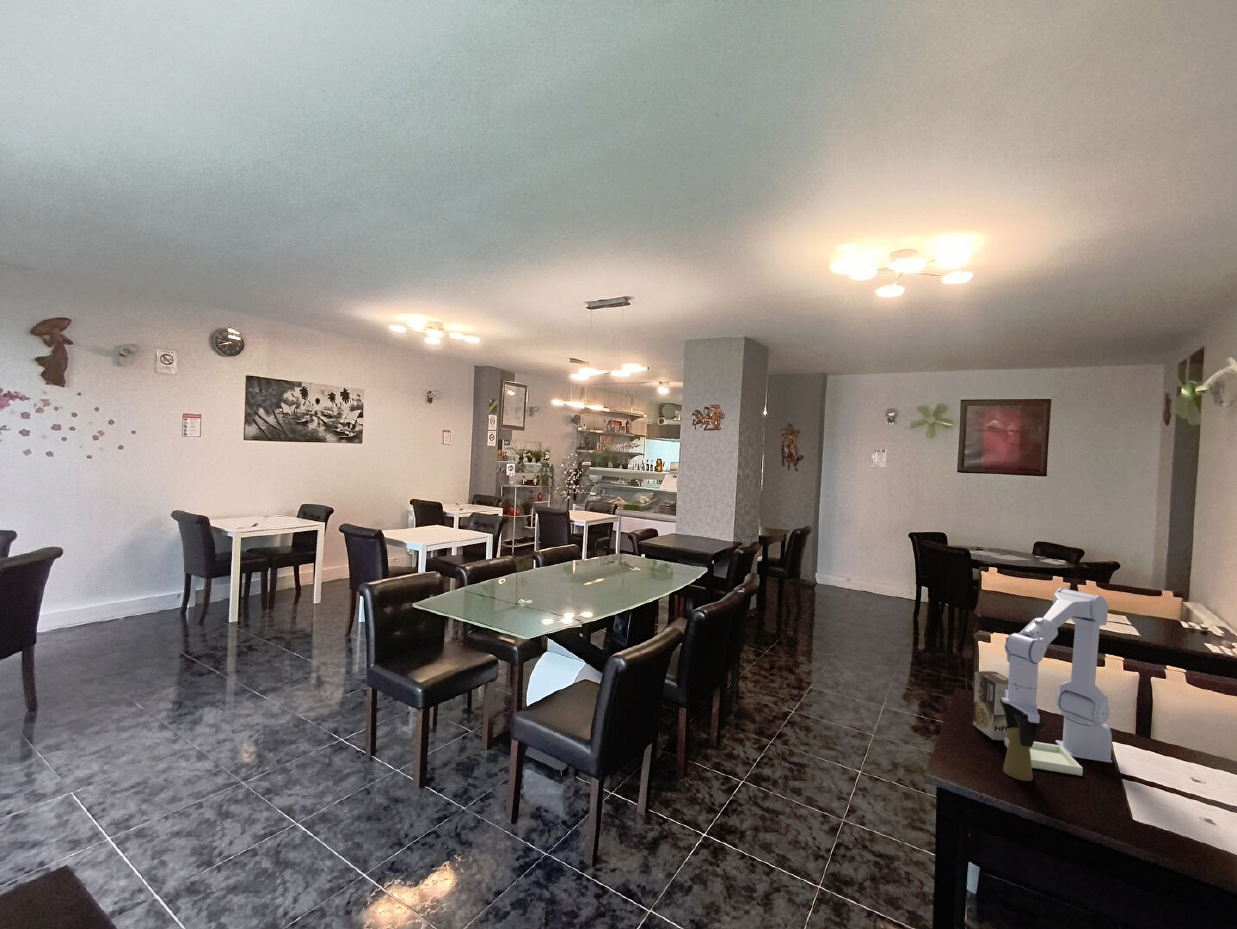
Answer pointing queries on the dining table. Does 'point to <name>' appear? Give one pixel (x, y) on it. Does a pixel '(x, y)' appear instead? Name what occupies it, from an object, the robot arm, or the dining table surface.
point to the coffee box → (990, 704)
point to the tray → (1052, 758)
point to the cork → (1017, 757)
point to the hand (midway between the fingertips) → (1019, 738)
